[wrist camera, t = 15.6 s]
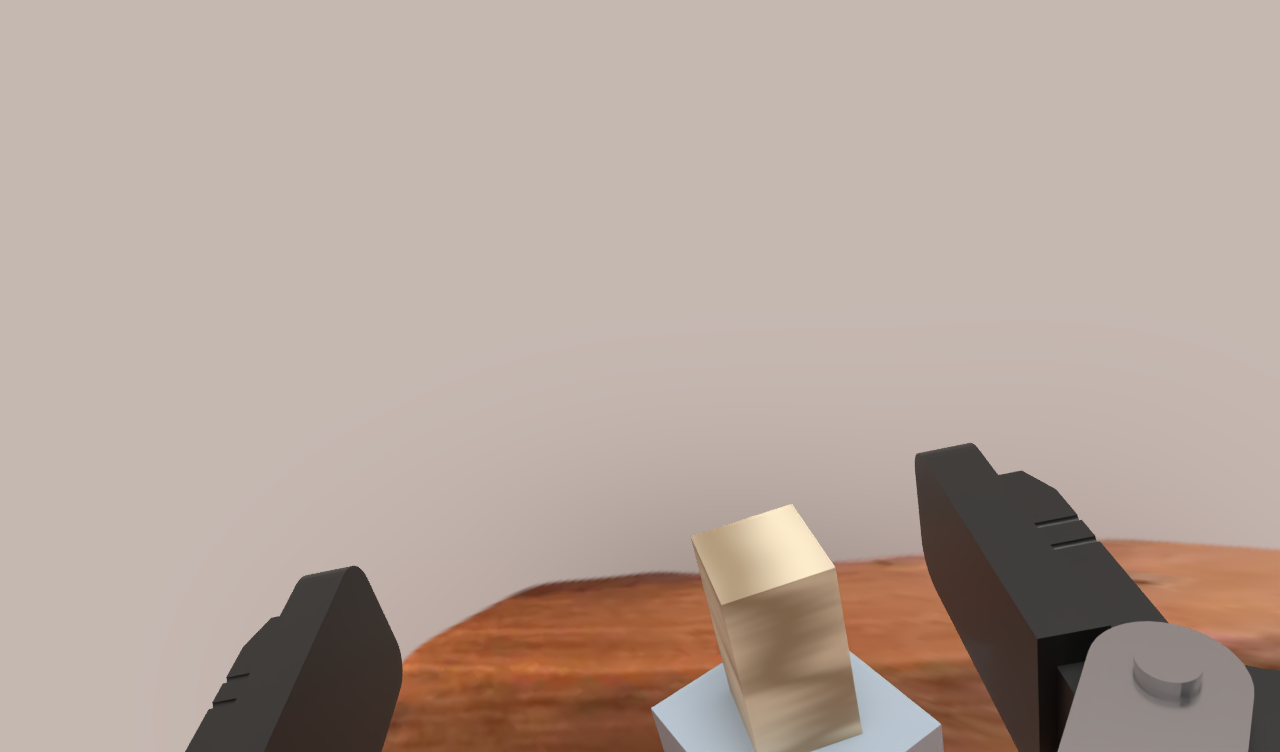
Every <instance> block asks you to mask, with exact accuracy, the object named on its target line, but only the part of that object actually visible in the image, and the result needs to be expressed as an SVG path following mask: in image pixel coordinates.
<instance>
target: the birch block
mask: <svg viewBox="0 0 1280 752" xmlns="http://www.w3.org/2000/svg"><path fill="white" fill-rule="evenodd" d="M691 539H692V543H693V547H694V551H695V555H696V559H697V563H698V567H699V571H700V575H701V579H702V583H703V587H704V591H705V594H706V598H707V602H708V606H709V610H710V614H711V618H712V622H713V626H714V630H715V634H716V638H717V642H718V646H719V650H720V653H721V657H722V661H723V665H724V669H725V673H726V677H727V681H728V685H729V689H730V692H731V694H732V697H733V699H734V702H735V704H736V707H737V709H738V711H739V714H740V716H741V719H742V721H743V724H744V726H745V729H746V731H747V734H748V736H749V739H750V741H751V744H752V746H753V749H754V751H755V752H811V751H814V750H817V749H820V748H822V747H825V746H828V745H831V744H834V743H837V742H840V741H842V740H845V739H848V738H851V737H854V736H857V735H860V734H862V728H861V722H860V715H859V709H858V703H857V697H856V691H855V685H854V679H853V673H852V667H851V660H850V654H849V648H848V642H847V636H846V630H845V624H844V618H843V611H842V605H841V599H840V593H839V587H838V581H837V575H836V569H835V566H834V565H833V563H832V562H831V560H830V559H829V558H828V556H827V555H826V553H825V552H824V550H823V549H822V547H821V546H820V544H819V543H818V542H817V540H816V538H815V537H814V536H813V534H812V533H811V531H810V530H809V528H808V527H807V525H806V524H805V522H804V521H803V519H802V518H801V516H800V515H799V514H798V512H797V511H796V509H795V508H794V506H793V505H792V504H790V505H787V506H784V507H781V508H777V509H774V510H771V511H768V512H765V513H762V514H759V515H756V516H753V517H749V518H746V519H743V520H740V521H737V522H734V523H731V524H728V525H725V526H722V527H718V528H715V529H712V530H709V531H706V532H703V533H700V534H697V535H693V536H691Z"/></svg>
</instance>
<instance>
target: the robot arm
mask: <svg viewBox="0 0 1280 752" xmlns="http://www.w3.org/2000/svg"><path fill="white" fill-rule="evenodd" d="M915 474H916V485H917V495H918V505H919V515H920V526H921V536H922V545H923V551H924V556H925V560H926V564H927V567H928V571H929V574H930V577H931V579H932V582H933V584H934V587H935V589H936V591H937V593H938V595H939V597H940V599H941V601H942V603H943V605H944V607H945V608H946V610H947V612H948V614H949V616H950V618H951V620H952V622H953V624H954V626H955V628H956V630H957V632H958V634H959V636H960V638H961V640H962V642H963V644H964V646H965V647H966V649H967V651H968V653H969V655H970V657H971V659H972V661H973V663H974V665H975V667H976V669H977V671H978V673H979V675H980V677H981V679H982V681H983V683H984V685H985V686H986V688H987V690H988V692H989V694H990V696H991V698H992V700H993V702H994V704H995V706H996V708H997V710H998V712H999V714H1000V716H1001V718H1002V720H1003V722H1004V724H1005V725H1006V727H1007V729H1008V731H1009V733H1010V735H1011V737H1012V739H1013V741H1014V743H1015V745H1016V747H1017V749H1018V751H1019V752H1280V671H1278V670H1269V669H1261V668H1256V667H1252V666H1247V665H1244V664H1243V663H1242V662H1241V661H1240V660H1239V658H1238V657H1237V656H1236V655H1235V654H1233V653H1232V652H1231V651H1230V650H1229V649H1228V648H1226V647H1225V646H1223V645H1222V644H1220V643H1219V642H1218V641H1216V640H1214V639H1212V638H1210V637H1208V636H1207V635H1205V634H1202V633H1200V632H1197V631H1195V630H1192V629H1190V628H1186V627H1183V626H1179V625H1175V624H1170V623H1168V622H1167V621H1166V619H1165V618H1164V617H1163V616H1162V615H1161V613H1160V612H1159V611H1158V610H1157V609H1156V607H1155V606H1154V605H1153V604H1152V603H1151V602H1150V600H1149V599H1148V598H1147V597H1146V596H1145V594H1144V593H1143V592H1142V591H1141V590H1140V589H1139V587H1138V586H1137V585H1136V584H1135V583H1134V581H1133V580H1132V579H1131V578H1130V577H1129V575H1128V574H1127V573H1126V572H1125V571H1124V570H1123V568H1122V567H1121V566H1120V565H1119V564H1118V562H1117V561H1116V560H1115V559H1114V558H1113V556H1112V555H1111V554H1110V553H1109V552H1108V551H1107V549H1106V548H1105V547H1104V546H1103V545H1102V543H1101V542H1097V541H1096V538H1095V535H1094V534H1093V533H1092V532H1091V531H1090V529H1089V528H1088V527H1087V526H1086V525H1085V523H1084V522H1083V521H1082V520H1079V519H1078V516H1077V514H1076V513H1075V512H1074V510H1073V509H1072V508H1071V507H1070V505H1069V504H1068V503H1067V502H1066V501H1065V500H1064V498H1063V497H1062V496H1061V495H1060V494H1059V492H1058V491H1057V490H1056V489H1054V488H1052V487H1051V486H1048V485H1047V484H1045V483H1043V482H1041V481H1040V480H1038V479H1036V478H1034V477H1032V476H1031V475H1029V474H1027V473H1025V472H1023V471H1018V472H1013V473H1008V474H1002V475H998V474H997V473H996V472H995V471H994V469H993V468H992V466H991V465H990V464H989V462H988V461H987V460H986V458H985V457H984V456H983V454H982V453H981V452H980V451H979V449H978V448H977V447H976V446H975V445H974V444H972V443H967V444H963V445H957V446H953V447H947V448H942V449H937V450H933V451H928V452H923V453H918V454H917V455H916V457H915ZM226 678H227V683H224V684H222V686H221V688H220V690H219V692H218V693H217V695H216V697H215V699H214V701H213V702H212V703H213V709H209V710H208V712H207V714H206V715H205V717H204V719H203V721H202V722H201V724H200V726H199V728H198V730H197V731H196V733H195V735H194V737H193V739H192V740H191V742H190V744H189V746H188V748H187V750H186V751H185V752H381V751H382V748H383V745H384V741H385V738H386V735H387V731H388V728H389V725H390V722H391V718H392V715H393V712H394V708H395V705H396V702H397V698H398V695H399V692H400V688H401V683H402V659H401V653H400V649H399V646H398V643H397V641H396V639H395V637H394V634H393V632H392V630H391V628H390V626H389V624H388V621H387V619H386V617H385V615H384V614H383V611H382V609H381V607H380V604H379V602H378V600H377V598H376V596H375V594H374V592H373V589H372V587H371V585H370V583H369V581H368V579H367V577H366V575H365V574H364V572H363V571H362V570H361V569H360V568H359V567H357V566H350V567H346V568H340V569H335V570H330V571H325V572H320V573H316V574H311V575H306V576H303V577H302V578H301V579H300V580H299V581H298V583H297V584H296V586H295V588H294V590H293V592H292V594H291V596H290V598H289V600H288V602H287V604H286V605H285V608H284V609H283V611H282V613H281V615H280V616H279V617H274V618H271V619H270V620H269V621H268V622H267V623H266V624H265V625H264V626H263V627H262V628H261V629H260V631H258V632H257V633H256V634H255V635H254V636H253V637H252V638H251V640H250V641H249V642H248V643H247V644H246V645H245V646H244V647H243V648H242V650H241V652H240V654H239V655H238V657H237V659H236V661H235V663H234V665H233V667H232V668H231V670H230V672H229V674H228V675H227V677H226Z"/></svg>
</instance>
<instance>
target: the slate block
mask: <svg viewBox="0 0 1280 752" xmlns="http://www.w3.org/2000/svg"><path fill="white" fill-rule="evenodd" d="M849 654H850V660H851V667H852V673H853V679H854V685H855V691H856V697H857V703H858V709H859V715H860V722H861V728H862V734H860V735H857V736H854V737H851V738H848V739H845V740H842V741H840V742H837V743H834V744H831V745H828V746H825V747H822V748H820V749H817V750H814V751H811V752H944V748H943V737H942V727H941V724H940V723H939V722H938V721H937V720H935V719H934V718H933V717H932V716H930V715H929V714H928V713H927V712H925V711H924V710H923V709H922V708H920V707H919V706H918V705H916V704H915V703H914V702H913V701H911V700H910V699H909V698H908V697H906V696H905V695H904V694H903V693H901V692H900V691H899V690H898V689H896V688H895V687H894V686H893V685H891V684H890V683H889V682H888V681H886V680H885V679H884V678H883V677H881V676H880V675H879V674H878V673H876V672H875V671H874V670H873V669H871V668H870V667H869V666H868V665H866V664H865V663H864V662H863V661H861V660H860V659H859V658H858V657H856V656H855V655H854V654H853V653H851V652H850V651H849ZM651 710H652V713H653V717H654V720H655V723H656V726H657V730H658V733H659V736H660V739H661V743H662V746H663V749H664V752H755V751H754V749H753V746H752V744H751V741H750V739H749V736H748V734H747V731H746V729H745V726H744V724H743V721H742V719H741V716H740V714H739V711H738V709H737V707H736V704H735V702H734V699H733V697H732V694H731V692H730V689H729V685H728V681H727V677H726V673H725V669H724V665H723V663H721V664H719V665H718V666H716V667H715V668H713V669H712V670H710V671H709V672H707V673H705V674H704V675H702V676H701V677H699V678H698V679H696V680H694V681H693V682H691V683H690V684H688V685H687V686H685V687H684V688H682V689H680V690H679V691H677V692H676V693H674V694H673V695H671V696H670V697H668V698H666V699H665V700H663V701H662V702H660V703H659V704H657V705H655V706H654V707H652V708H651Z"/></svg>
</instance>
